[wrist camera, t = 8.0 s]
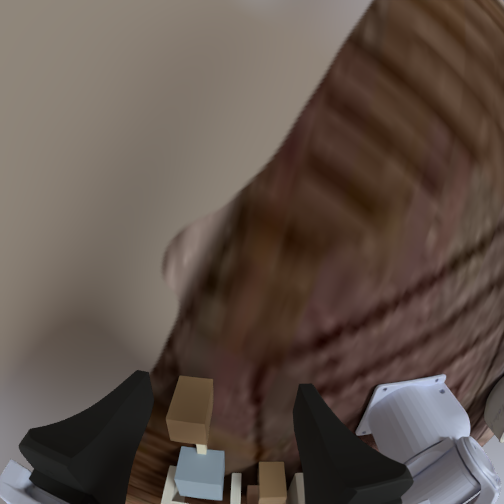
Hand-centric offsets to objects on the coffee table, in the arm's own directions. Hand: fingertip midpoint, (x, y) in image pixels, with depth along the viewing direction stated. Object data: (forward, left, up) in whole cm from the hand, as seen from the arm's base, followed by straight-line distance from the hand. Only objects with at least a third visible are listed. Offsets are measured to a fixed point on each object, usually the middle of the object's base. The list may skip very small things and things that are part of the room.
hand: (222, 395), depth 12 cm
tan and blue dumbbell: (+3, +16, -9) cm, 19 cm away
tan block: (-5, +28, -9) cm, 30 cm away
